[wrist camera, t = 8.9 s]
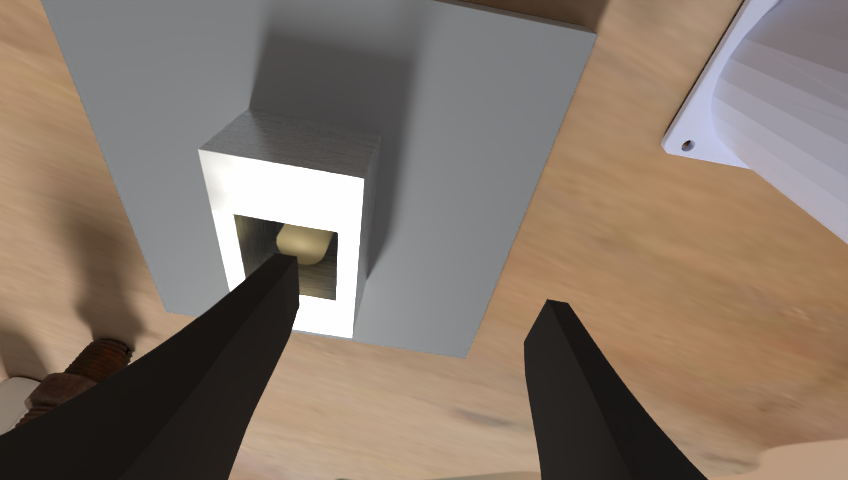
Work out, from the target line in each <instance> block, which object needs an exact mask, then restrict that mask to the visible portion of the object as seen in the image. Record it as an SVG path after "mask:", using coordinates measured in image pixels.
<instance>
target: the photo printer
mask: <svg viewBox="0 0 848 480" xmlns="http://www.w3.org/2000/svg"><path fill="white" fill-rule="evenodd" d="M39 384H40V382H38V381H35V380H31V379H28V378H22V377H13V378H11V379H5V380H3V381H2V382H1V383H0V435H2V434H4V433H6V432H8V431H10V430H11V429H13V428H15V425H16V423H19V421H20V419H21V418H23V417H24V415H25V414H26V413H28V411H29V410H28V409H27V408H26V406H25V404H24V401H25V400H26V399H27V397H28V396H29V395H30V394H31V393H32V392H33V391H34V390H35V389H36V387H37V386H38V385H39Z"/></svg>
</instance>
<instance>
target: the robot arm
mask: <svg viewBox="0 0 848 480" xmlns="http://www.w3.org/2000/svg"><path fill="white" fill-rule="evenodd" d="M688 140H691V141H690V143H689V144H688V145H687V146H686V147H684V148H681V147H682V145H683V144H684V143H685V142H686V141H688ZM661 144H662V148H663V149H664V150H665V151H666V152H667V153H670V154H674V155H679V156H685V157H690V158H695V159H700V160H706V161H711V162H716V163H721V164H727V165H732V166H737V167H743V168H748V169H752V170H754V171H755V172H756V173H757V174H759V175H760V176H761V177H763V178H764V179H765V180H766V181H768V182H769V183H770V184H772V185H773V186H774V187H775V188H777V189H778V190H779V191H780V192H782V193H783V194H784V195H786V196H787V197H788V198H789V199H791V200H792V201H793V202H795V203H796V204H797V205H798V206H800V207H801V208H802V209H804V210H805V211H806V212H807V213H809V214H810V215H811V216H812V217H814V218H815V219H816V220H818V221H819V222H820V223H821V224H823V225H824V226H825V227H827V228H828V229H829V230H830V231H832V232H833V233H834V234H836V235H837V236H838V237H839V238H841V239H842V240H843V241H844V242H846V243H847V244H848V0H745V2H744V3H743V5H742V7H741V8H740V10H739V12H738V13H737V15H736V17H735V18H734V20H733V22H732V23H731V25H730V27H729V28H728V30H727V32H726V33H725V35H724V37H723V38H722V40H721V42H720V43H719V45H718V47H717V49H716V50H715V52H714V54H713V55H712V57H711V59H710V60H709V62H708V64H707V65H706V67H705V69H704V70H703V72H702V74H701V75H700V77H699V79H698V80H697V82H696V84H695V85H694V87H693V89H692V91H691V92H690V94H689V96H688V97H687V99H686V101H685V102H684V104H683V106H682V107H681V109H680V111H679V112H678V114H677V116H676V117H675V119H674V121H673V122H672V124H671V126H670V127H669V129H668V131H667V132H666V134H665V136H664V138H663V140H662V142H661ZM299 308H300V291H299V275H298V260H297V256H291V255H285V254H280V253H275V254H273V255H271V256H270V257H269V258H268V259H267V260H266V261H265V262H264V263H263V264H261V265H260V266H259V267H258V268H257V269H256V270H255V271H254V272H252V273H251V274H250V275H249V276H248V277H247V278H246V279H244V280H243V281H242V282H241V283H240V284H239V285H238V286H236V287H235V288H234V289H233V290H232V291H230V292H229V293H228V294H227V295H226V296H224V297H223V298H222V299H221V300H219V301H218V302H217V303H216V304H215V305H213V306H212V307H211V308H210V309H208V310H207V311H206V312H204V313H203V314H202V315H200V316H199V317H198V318H196V319H195V320H194V321H192V322H191V323H190V324H188V325H187V326H186V327H184V328H183V329H182V330H180V331H179V332H178V333H176V334H175V335H173V336H172V337H171V338H169V339H168V340H166V341H165V342H163V343H162V344H161V345H159V346H158V347H156V348H155V349H153V350H152V351H150V352H148V353H147V354H145V355H144V356H142V357H141V358H139V359H138V360H136V361H135V362H133V363H131V364H130V365H128V366H126V367H125V368H123V369H121V370H120V371H118V372H117V373H115V374H113V375H112V376H110V377H108V378H107V379H105V380H103V381H102V382H100V383H98V384H96V385H95V386H93V387H91V388H89V389H88V390H86V391H84V392H82V393H81V394H79V395H77V396H75V397H73V398H71V399H69V400H68V401H66V402H64V403H62V404H60V405H58V406H56V407H54V408H52V409H51V410H49V411H47V412H45V413H43V414H41V415H39V416H37V417H35V418H33V419H32V420H30V421H28V422H26V423H24V424H22V425H20V426H18V427H16V428H14V429H12V430H10V431H8V432H6V433H4V434H2V435H0V480H228V478H229V475H230V472H231V469H232V466H233V464H234V461H235V458H236V456H237V453H238V450H239V447H240V445H241V442H242V439H243V437H244V434H245V431H246V429H247V426H248V424H249V422H250V419H251V417H252V415H253V412H254V410H255V408H256V406H257V404H258V402H259V400H260V398H261V396H262V393H263V391H264V389H265V387H266V385H267V383H268V381H269V379H270V377H271V375H272V373H273V371H274V369H275V367H276V365H277V362H278V360H279V358H280V356H281V354H282V352H283V350H284V348H285V346H286V343H287V341H288V339H289V337H290V334H291V331H292V328H293V326H294V323H295V320H296V317H297V314H298V311H299ZM524 361H525V377H526V383H527V389H528V395H529V401H530V407H531V413H532V419H533V425H534V430H535V436H536V442H537V448H538V454H539V461H540V469H541V480H708V479H707V478H706V477H705V476H704V475H703V474H702V473H701V472H700V471H699V470H698V469H697V468H696V467H695V466H694V465H693V464H692V463H691V462H690V461H689V460H688V459H687V457H686V456H685V455H684V454H683V453H682V452H681V451H680V450H679V449H678V448H677V447H676V445H675V444H674V443H673V442H672V441H671V440H670V439H669V437H668V436H667V435H666V434H665V433H664V432H663V431H662V430H661V428H660V427H659V426H658V425H657V424H656V423H655V422H654V420H653V419H652V418H651V417H650V416H649V414H648V413H647V412H646V411H645V409H644V408H643V407H642V406H641V404H640V403H639V402H638V401H637V399H636V398H635V397H634V396H633V394H632V393H631V392H630V390H629V389H628V388H627V387H626V385H625V384H624V383H623V381H622V380H621V379H620V377H619V376H618V375H617V373H616V372H615V370H614V369H613V368H612V366H611V365H610V363H609V362H608V361H607V359H606V358H605V356H604V355H603V354H602V352H601V351H600V349H599V348H598V346H597V345H596V343H595V342H594V341H593V339H592V338H591V336H590V335H589V333H588V332H587V330H586V329H585V327H584V326H583V324H582V323H581V321H580V320H579V318H578V317H577V315H576V314H575V312H574V311H573V309H572V308H571V307H570V305H569V304H568V303H566V302H560V301H554V300H548V299H547V301H546V302H545V304H544V306H543V308H542V310H541V312H540V313H539V315H538V317H537V319H536V321H535V323H534V324H533V326H532V328H531V330H530V332H529V334H528V335H527V337H526V339H525V341H524Z"/></svg>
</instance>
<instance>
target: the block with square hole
mask: <svg viewBox="0 0 848 480" xmlns="http://www.w3.org/2000/svg"><path fill="white" fill-rule="evenodd" d="M381 135H382V132H378V131H372V130H367V129H361V128H356V127H351V126H345V125H340V124H334V123H329V122H324V121H318V120H313V119H307V118H302V117H297V116H291V115H286V114H280V113H275V112H270V111H264V110H259V109H254V108H248V109H247V110H245V111H244V112H243V113H242V114H240V115H239V116H238V117H237V118H236V119H234V120H233V121H232V122H231V123H229V124H228V125H227V126H226V127H224V128H223V129H222V130H221V131H220V132H218V133H217V134H216V135H215V136H213V137H212V138H211V139H210V140H209V141H207V142H206V143H205V144H204V145H202V146H201V147H200V148H199V149H198V152H199V157H200V161H201V165H202V170H203V174H204V179H205V183H206V188H207V192H208V196H209V201H210V205H211V210H212V214H213V218H214V223H215V227H216V232H217V236H218V240H219V245H220V249H221V254H222V258H223V263H224V267H225V271H226V276H227V280H228V285H229V289H230V291H232V290H233V289H234V288H235V287H236V286H238V285H239V284H240V283H241V282H242V281H243V280H244V279H246V278H247V277H248V276H249V275H250V274H251V273H252V272H254V271H255V270H256V269H257V268H258V267H259V266H260V265H261V264H263V263H264V262H265V261H266V260H267V259H268V258H269V257H270V256H271V255H273V254H275V253H280V254H282V253H281V252H280V250H279V248H278V246H277V236H278V234H279V233H280V232H279V222H284V223H290V224H296V225H302V226H308V227H313V228H319V229H325V230H331V231H337V232H339V241H338V242H335V241H330V243H329V246H328V248H327V251H326V253H325V255H324V257H323V259H322V260H321V261H319V262H317V263H315V264H309V265H305V264H299V263H298V275H299V291H300V308H299V311H298V314H297V317H296V320H295V323H294V326H293V328H292V329H298V330H305V331H311V332H317V333H324V334H330V335H336V336H343V337H349V338H352V335H353V332H354V328H355V324H356V320H357V316H358V313H359V309H360V305H361V301H362V297H363V293H364V290H365V286H366V282H367V274H368V264H369V254H370V244H371V234H372V224H373V214H374V204H375V194H376V184H377V175H378V165H379V155H380V145H381Z"/></svg>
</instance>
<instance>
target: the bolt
mask: <svg viewBox="0 0 848 480" xmlns="http://www.w3.org/2000/svg"><path fill="white" fill-rule="evenodd" d="M126 350H127V348H126V347H125V345H124V344H122V343H121V342H119V341H115V340H99V341H93V342H91V343H90V344H89V345H88V346H87V347H86V348H85V349H84V350H83V351H82V352H81V353H80V354H79V356H78V357H77V358H76V359H75V360H74V361H73V362H72V364H70V365H69V367H68V368H67V369H66V370H65V372H63V373H53V374H49V375H48V376H47V377H46V378H45V379H44V380H43V381H42V382H41V383H40V384H39V385H38V386H37V387H36V389H35V390H34V391H33V392H32V393H31V394H30V395H29V396H28V397H27V399H26V400H25V401H24V404H25V406H26V408H27V409H28V410H29V411H28V413H26V414H25V415H24V417H23V418H21V419H20V421H19V423H16V425H15V428H16V427H18V426H20V425H22V424H24V423H26V422H28V421H30V420H32V419H33V418H35V417H37V416H39V415H41V414H43V413H45V412H47V411H49V410H51V409H52V408H54V407H56V406H58V405H60V404H62V403H64V402H66V401H68V400H69V399H71V398H73V397H75V396H77V395H79V394H81V393H82V392H84V391H86V390H88V389H89V388H91V387H93V386H95V385H96V384H98V383H100V382H102V381H103V380H105V379H107V378H108V377H110V376H112V375H113V374H115V373H117V372H118V371H120V370H121V369H123V368H125V367H126V366H128V363H130V362H131V361H130V358H131V357H132V353H131V351H127V352H125V351H126ZM13 429H14V428H13ZM11 430H12V429H11Z"/></svg>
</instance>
